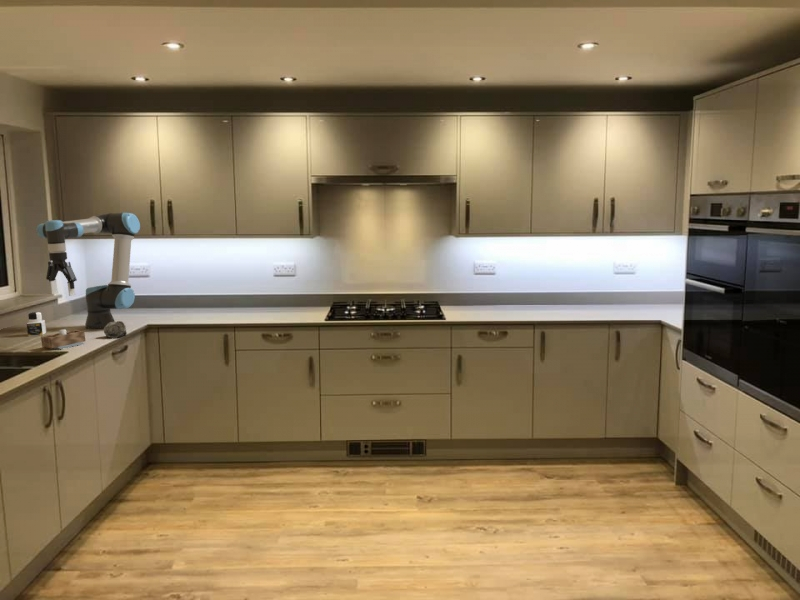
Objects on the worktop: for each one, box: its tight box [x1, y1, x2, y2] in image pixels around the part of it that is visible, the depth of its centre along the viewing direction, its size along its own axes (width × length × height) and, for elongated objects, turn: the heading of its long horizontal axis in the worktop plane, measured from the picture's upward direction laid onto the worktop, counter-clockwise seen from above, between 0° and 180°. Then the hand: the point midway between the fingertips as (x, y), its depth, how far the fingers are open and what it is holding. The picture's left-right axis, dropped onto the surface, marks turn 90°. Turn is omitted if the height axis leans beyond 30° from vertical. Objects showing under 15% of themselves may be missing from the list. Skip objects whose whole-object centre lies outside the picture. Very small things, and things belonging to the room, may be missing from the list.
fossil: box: [103, 320, 128, 339], centre depth 317 cm, size 11×9×10 cm
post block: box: [53, 329, 84, 350], centre depth 297 cm, size 12×12×8 cm
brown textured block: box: [40, 329, 86, 349], centre depth 297 cm, size 17×8×5 cm, turn 151°
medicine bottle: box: [26, 311, 47, 337], centre depth 326 cm, size 7×7×12 cm
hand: (63, 294), depth 303 cm, fingers open, 13 cm apart
